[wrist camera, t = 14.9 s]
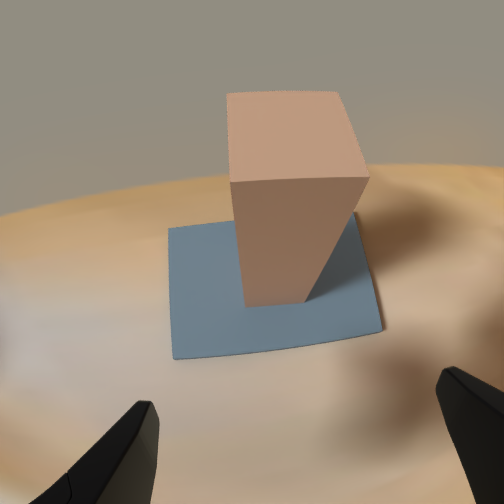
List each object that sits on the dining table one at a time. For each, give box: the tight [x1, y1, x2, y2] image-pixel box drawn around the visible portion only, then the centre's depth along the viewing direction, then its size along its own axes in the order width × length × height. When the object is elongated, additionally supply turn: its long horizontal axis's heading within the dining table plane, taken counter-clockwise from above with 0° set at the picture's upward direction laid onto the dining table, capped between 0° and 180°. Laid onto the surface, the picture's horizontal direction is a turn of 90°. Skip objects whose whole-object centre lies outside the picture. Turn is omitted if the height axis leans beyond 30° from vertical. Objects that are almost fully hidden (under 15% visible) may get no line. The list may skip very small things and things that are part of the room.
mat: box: [168, 213, 383, 360], centre depth 20 cm, size 13×9×1 cm
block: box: [227, 91, 370, 308], centre depth 14 cm, size 4×4×12 cm
